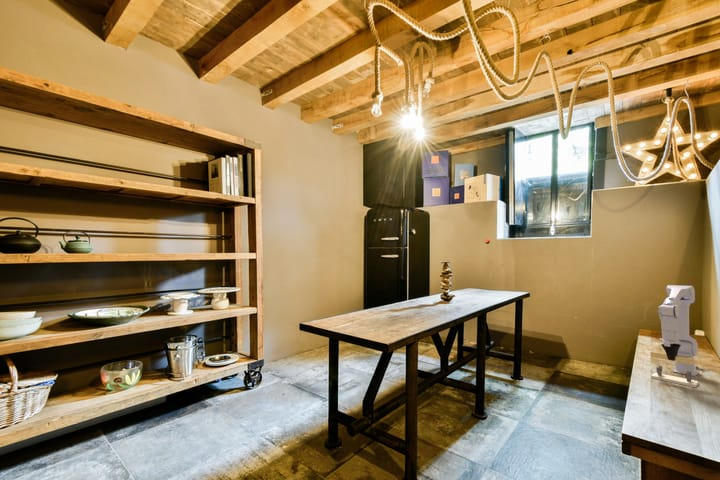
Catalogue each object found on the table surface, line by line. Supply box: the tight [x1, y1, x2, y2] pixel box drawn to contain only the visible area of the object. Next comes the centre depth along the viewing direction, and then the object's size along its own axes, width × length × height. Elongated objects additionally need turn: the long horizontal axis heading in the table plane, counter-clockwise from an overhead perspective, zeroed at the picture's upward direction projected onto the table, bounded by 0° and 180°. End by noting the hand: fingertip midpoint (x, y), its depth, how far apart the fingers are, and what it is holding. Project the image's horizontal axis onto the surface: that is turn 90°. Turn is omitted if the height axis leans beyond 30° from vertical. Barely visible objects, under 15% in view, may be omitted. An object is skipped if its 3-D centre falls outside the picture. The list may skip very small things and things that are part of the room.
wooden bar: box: [650, 351, 696, 366], centre depth 151 cm, size 2×15×2 cm, turn 35°
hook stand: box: [650, 365, 699, 388], centre depth 151 cm, size 7×15×5 cm, turn 35°
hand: (672, 359), depth 151 cm, fingers closed on wooden bar, 2 cm apart
